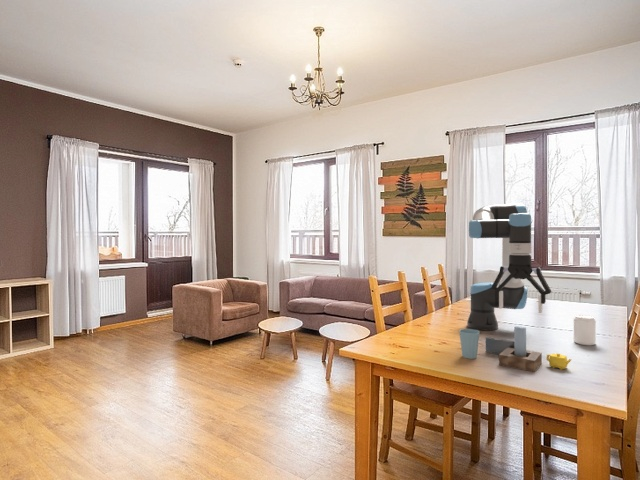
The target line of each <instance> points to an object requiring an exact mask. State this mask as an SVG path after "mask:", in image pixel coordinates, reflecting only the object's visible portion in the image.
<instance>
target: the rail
mask: <svg viewBox="0 0 640 480" xmlns="http://www.w3.org/2000/svg"><path fill="white" fill-rule="evenodd" d="M507 347H510V348H514V340H513V341H512V340H508V339H507V340H506V339H500V338H493V337H485V353H488V354H489V353H490V354H493V355H499V354H500V353H502V352H503V351H504V350H505V349H506V348H507Z"/></svg>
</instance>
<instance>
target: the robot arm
mask: <svg viewBox="0 0 640 480" xmlns="http://www.w3.org/2000/svg"><path fill="white" fill-rule="evenodd" d="M532 222H533V221H532V214H531V213H528V208H527V207H526V205H525V204H523V203H505V204H490V205H485V206H483V207H480V208H479V209H477V210H475V212H474V213H473V215H472V220H469V222H468V236H469V238H471V239H502V249H501V250H502V254H501V255H502V256H501V257H502V258H501V259H502V263H501V264H502V266H500V267H499V271H498V275H497V276H496V278H495V280H494V281H493V282H489V281H488V282H487V281H486V282H479V283H474V284H471V286H470V293H469V294H470V312H469V316H468V319H467V321H466V323H467V324H466V325H467V327H468V328H469V329H473V330H477V331H495V330H498V329H499V323H498V320H497V317H496V314H495V309H500V310H501V309H507V310H510V309H511V310H523V309H525V307H526V305H527V299H528V287H527V286H525V283H524V281H522V280H527V281H528V282H529V283H530V284H531V285H532V286H533V287H534V289H536V290H537V292H538V293H539V294H538V308H537V309H538V314H542V313H543V304H545V303H546V295H549V294H551V293H552V290H551V288H550V286H549V284H548V283H547V281H546V279H545V277H544V275H543V274H542V268H541V267H533V266H532V255H531V254H532ZM532 273H534V274H535V275H536V276H537V278H538V279H539V281H540V283H541V285H540V284H539V283H538V281H536V280H535V279H534V277H533V275H531V274H532ZM542 287H543V288H542Z"/></svg>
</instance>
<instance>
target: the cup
mask: <svg viewBox="0 0 640 480" xmlns="http://www.w3.org/2000/svg"><path fill="white" fill-rule="evenodd" d="M480 333H481V332H480V330H478V329H473V328H461V329H459V340H460V341H459V342H460V347H461V348H460V349H461V356H462V357H463V358H465V359H469V360H471V359H472V360H474V359H477V358H478V349H479V340H480Z"/></svg>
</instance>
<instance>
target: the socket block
mask: <svg viewBox="0 0 640 480" xmlns="http://www.w3.org/2000/svg"><path fill="white" fill-rule="evenodd" d="M542 353H543V352H539V351H533V350H528V349H526V357H524V356H518V355H515V351H514V348H510V347H507V348H506V349H505V350H504V351H503V352H502V353H500V354H498V365H499V366H502V367H508V368H513V369H519V370H522V371H523V370H524V371H527V372H532V373H533V372H534V373H535V372H536V371H537V369H539V367H540V366H541V365H542V363H543V362H542V357H543V355H542Z"/></svg>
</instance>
